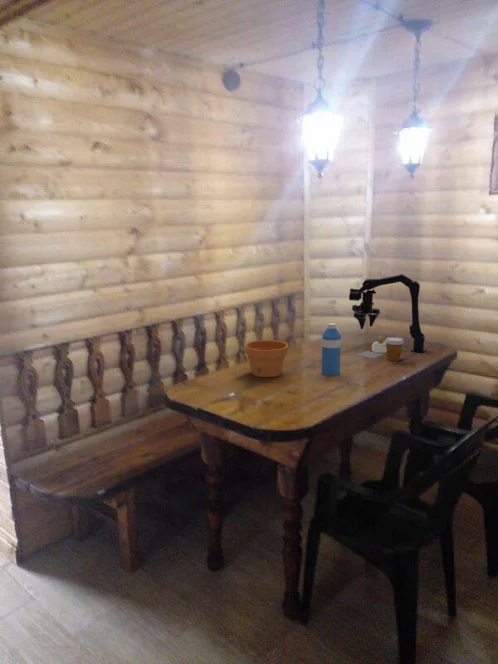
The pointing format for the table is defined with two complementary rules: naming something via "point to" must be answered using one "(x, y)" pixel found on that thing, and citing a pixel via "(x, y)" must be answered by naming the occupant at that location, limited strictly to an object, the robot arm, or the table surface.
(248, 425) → the table surface
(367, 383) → the table surface
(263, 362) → the flower pot
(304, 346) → the table surface
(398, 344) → the disposable coffee cup
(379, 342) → the lid
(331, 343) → the water bottle
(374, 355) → the coaster
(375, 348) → the bowl
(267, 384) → the table surface
